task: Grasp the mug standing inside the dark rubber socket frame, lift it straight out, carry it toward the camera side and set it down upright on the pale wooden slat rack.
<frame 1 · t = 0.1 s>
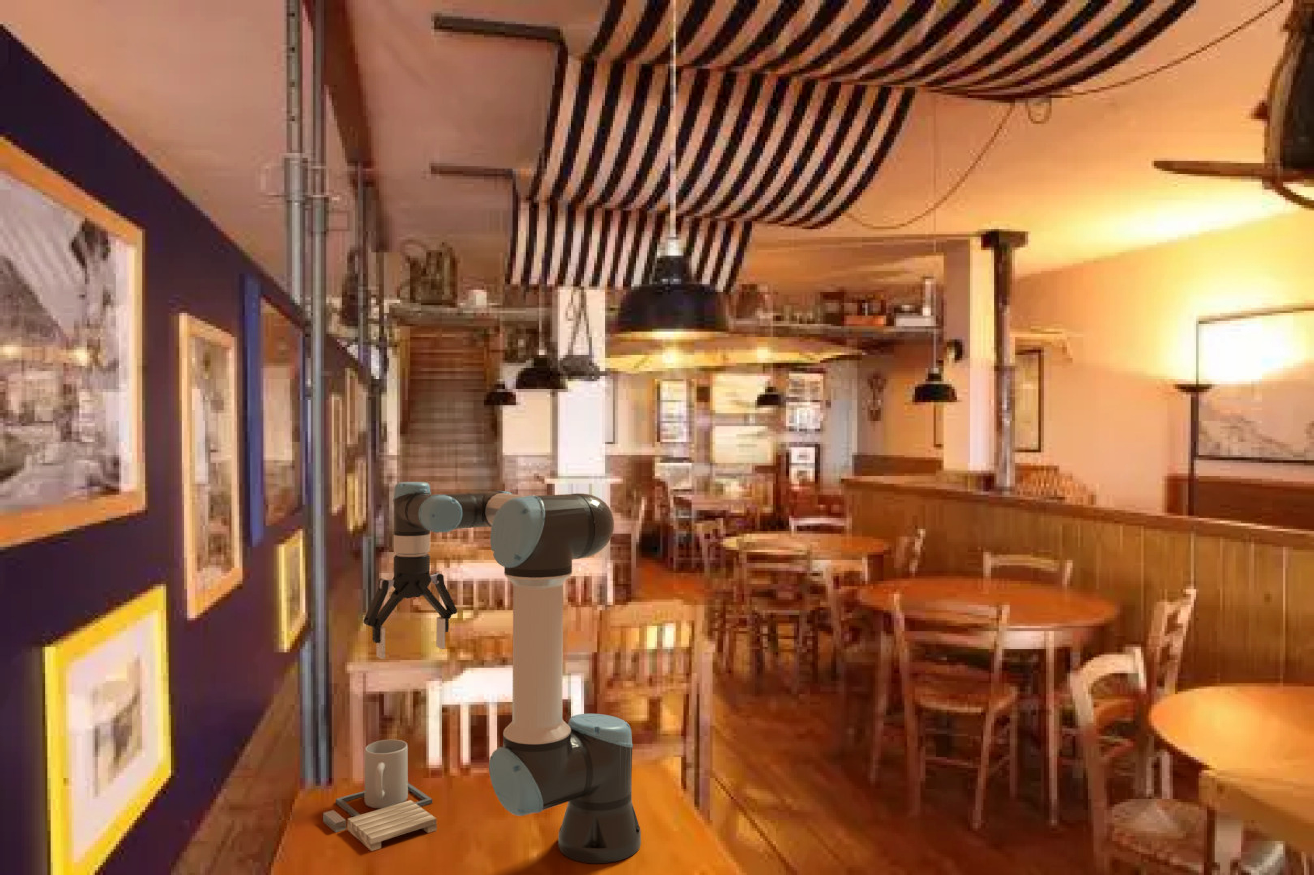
hand: (411, 652, 190), 28 cm above the table, fingers open, 13 cm apart
grey rectangular bar: (334, 826, 170), on the table
rack: (392, 830, 168), on the table
mug: (384, 804, 180), resting in socket frame
socket frame: (384, 802, 180), on the table
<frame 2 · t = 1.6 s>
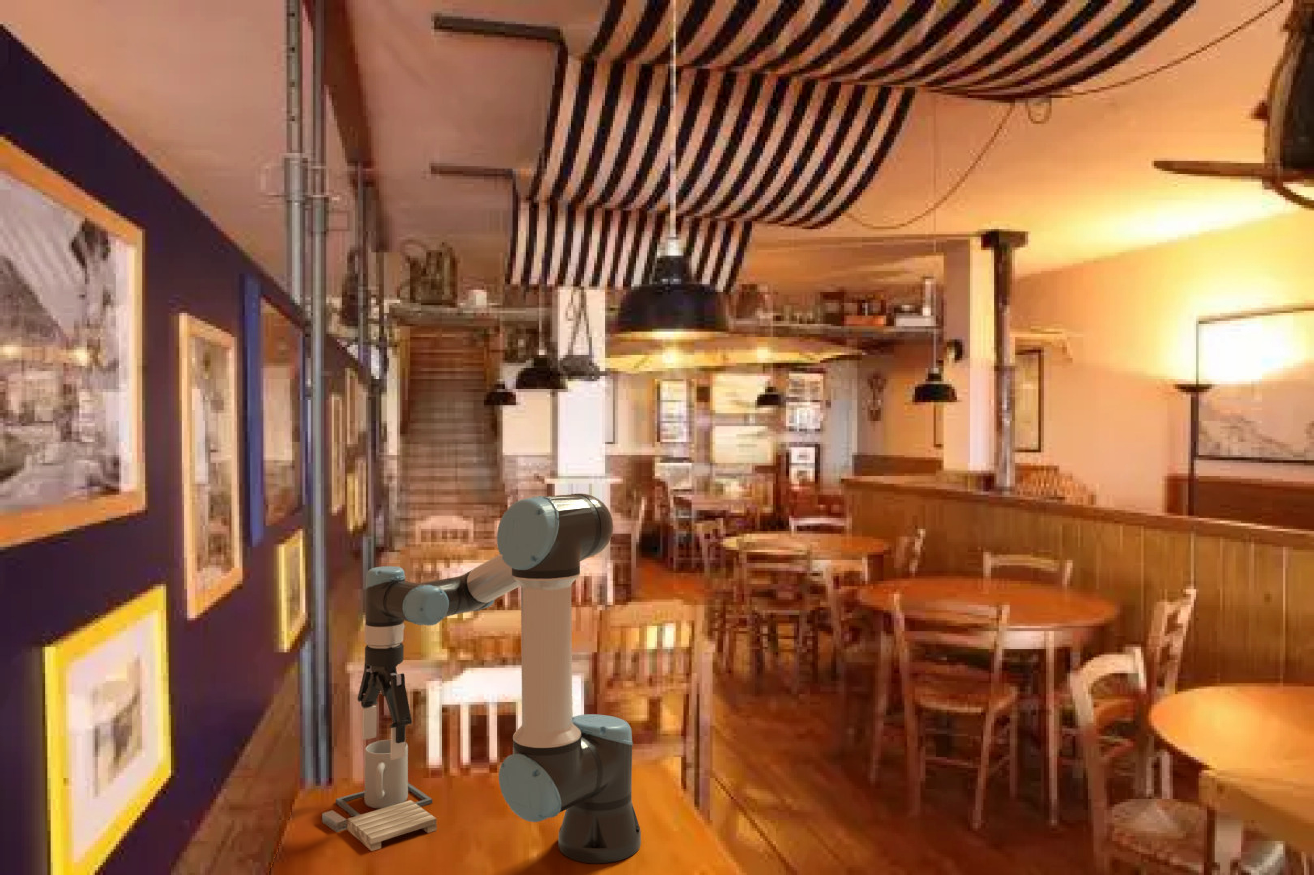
hand: (383, 747, 180), 11 cm above the table, fingers open, 13 cm apart
nothing on the table moved.
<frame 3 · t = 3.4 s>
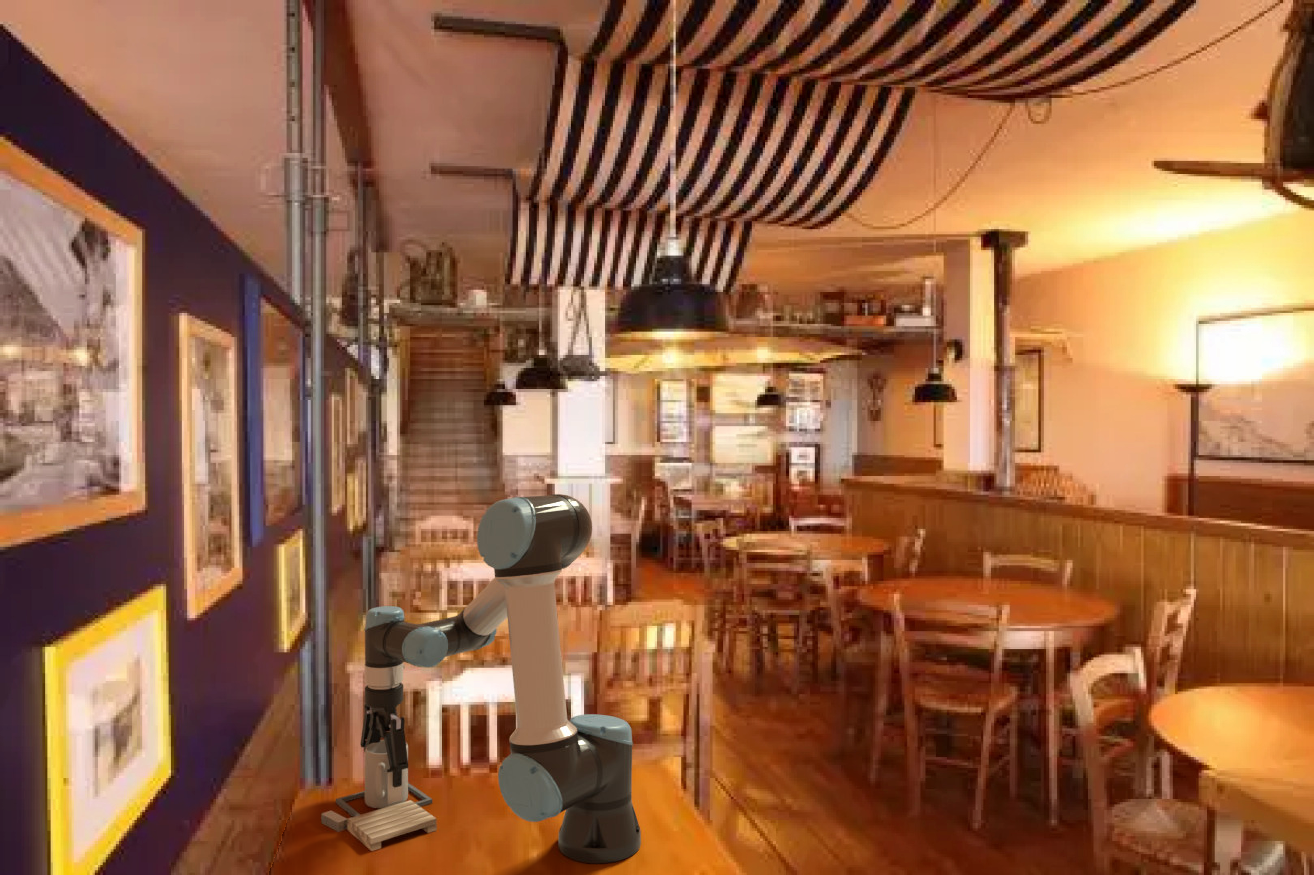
hand: (383, 792, 180), 2 cm above the table, fingers closed on mug, 10 cm apart
mug: (384, 804, 180), resting in socket frame, touching gripper
everything else where it was.
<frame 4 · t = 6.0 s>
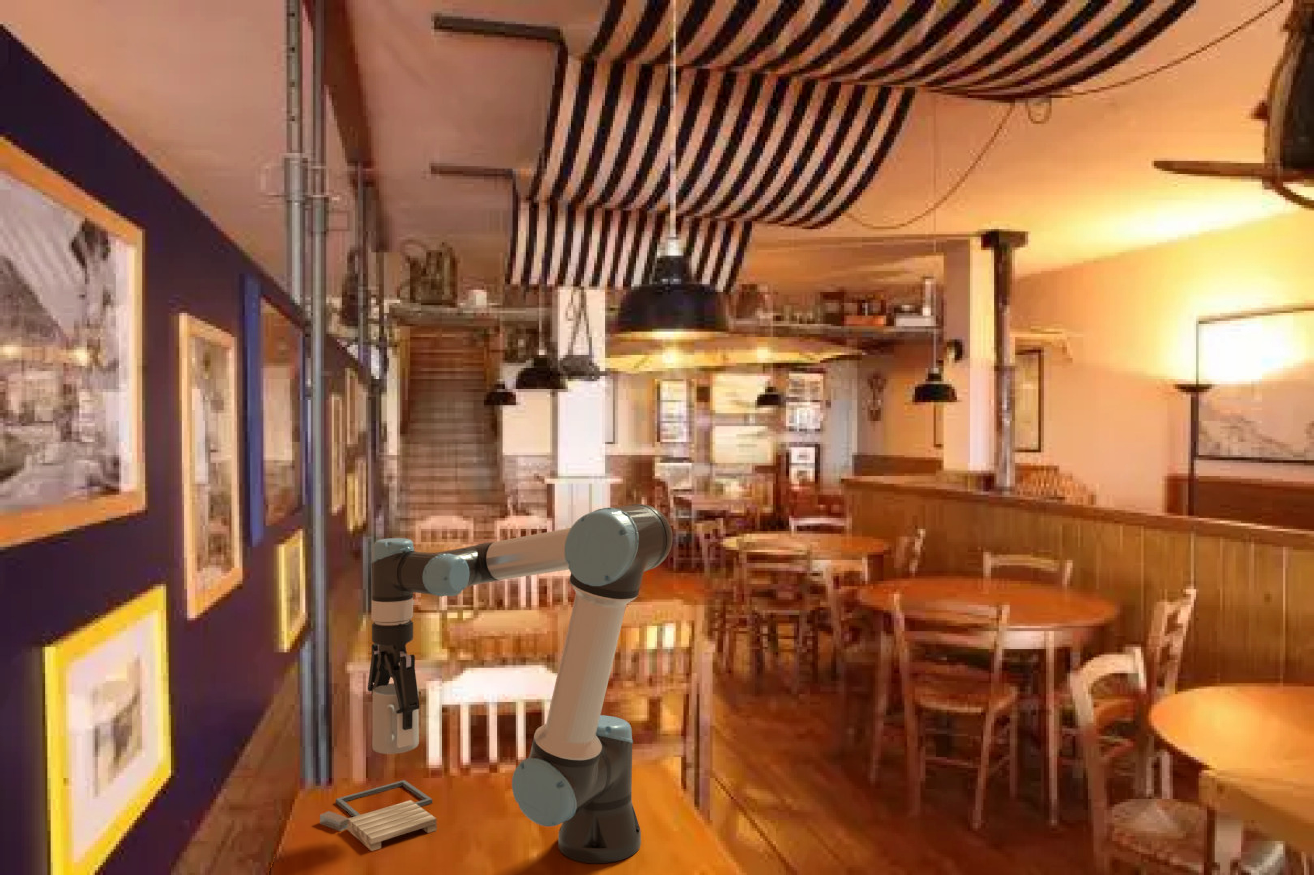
hand: (392, 738, 168), 17 cm above the table, fingers closed on mug, 10 cm apart
mug: (393, 750, 167), point 15 cm above the table, touching gripper
everything else where it was.
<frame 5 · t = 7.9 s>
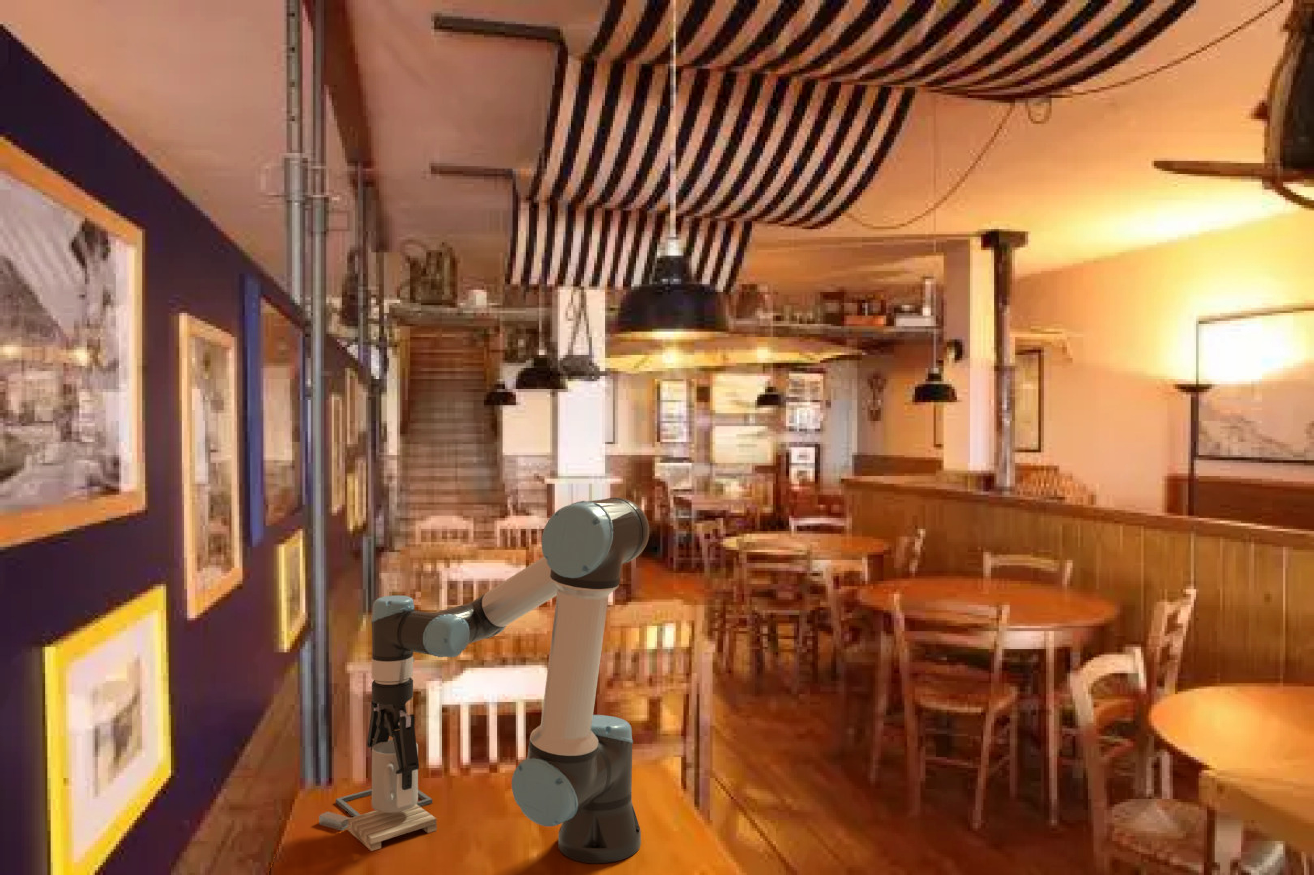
hand: (391, 795, 168), 6 cm above the table, fingers closed on mug, 10 cm apart
mug: (393, 808, 167), point 4 cm above the table, touching gripper
everything else where it was.
when the fingers open (5 cm above the table, at t = 9.1 s): mug drops 1 cm, resting on rack.
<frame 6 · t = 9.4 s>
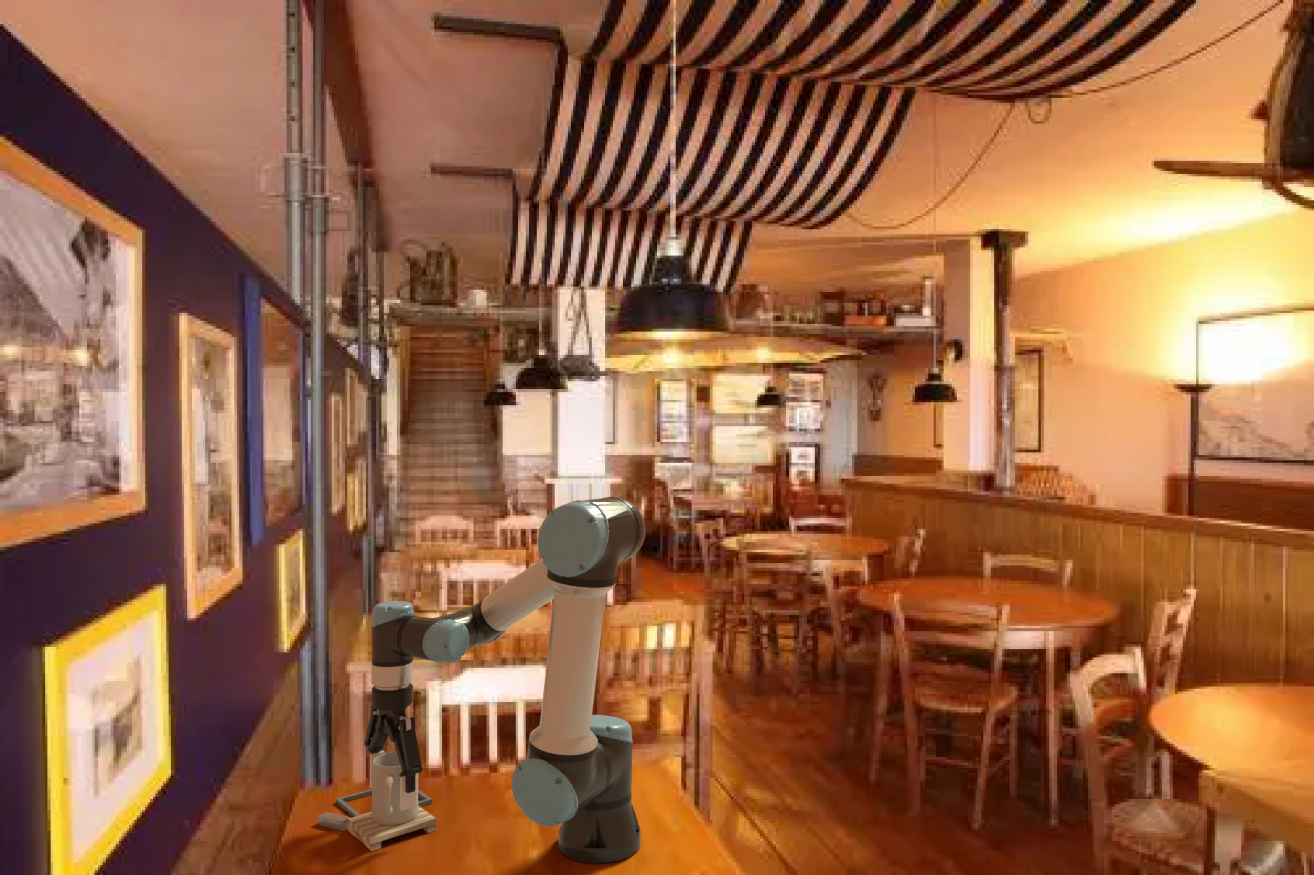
hand: (392, 797, 168), 6 cm above the table, fingers open, 13 cm apart
mug: (393, 821, 167), point 2 cm above the table, touching rack
everything else where it was.
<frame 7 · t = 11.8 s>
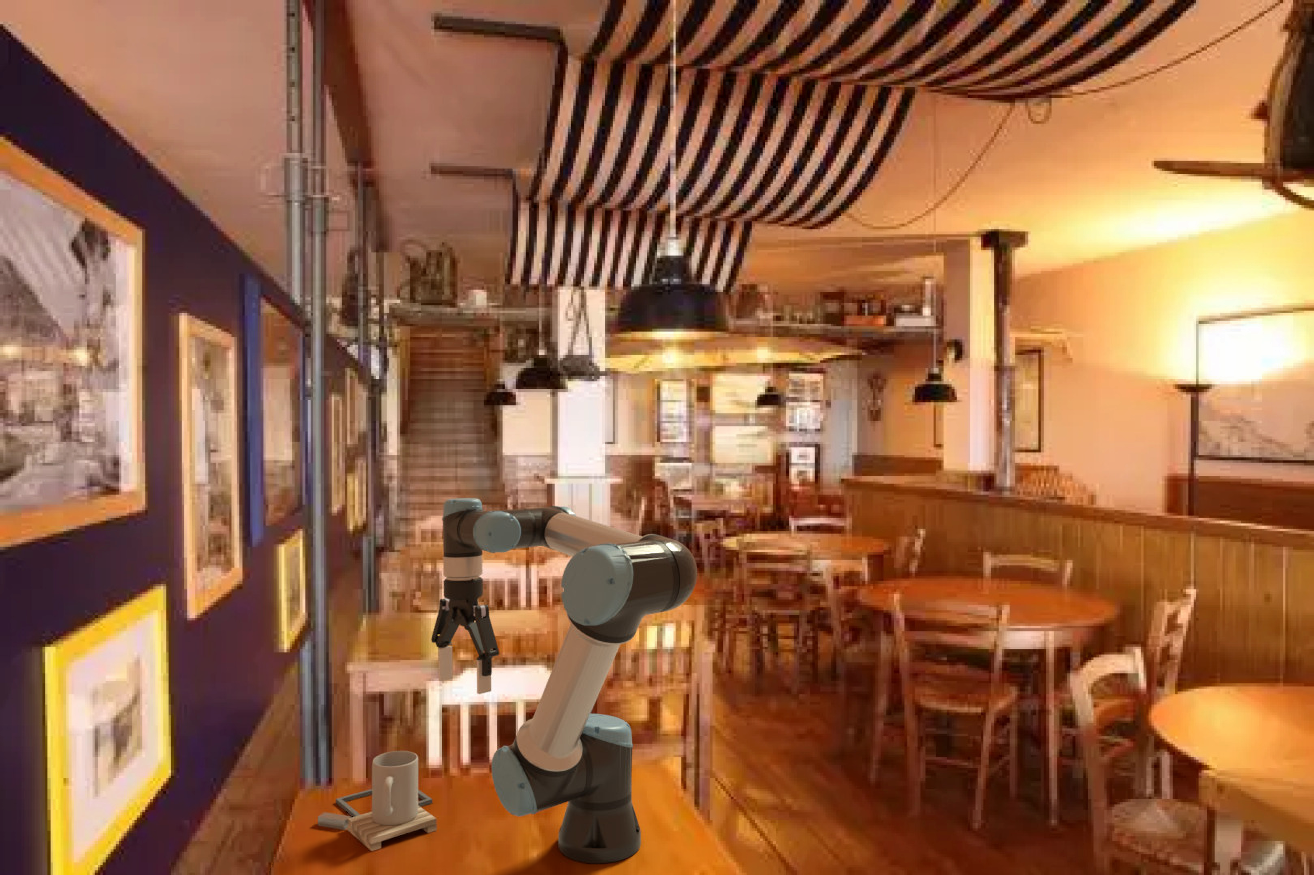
hand: (464, 686, 173), 26 cm above the table, fingers open, 13 cm apart
nothing on the table moved.
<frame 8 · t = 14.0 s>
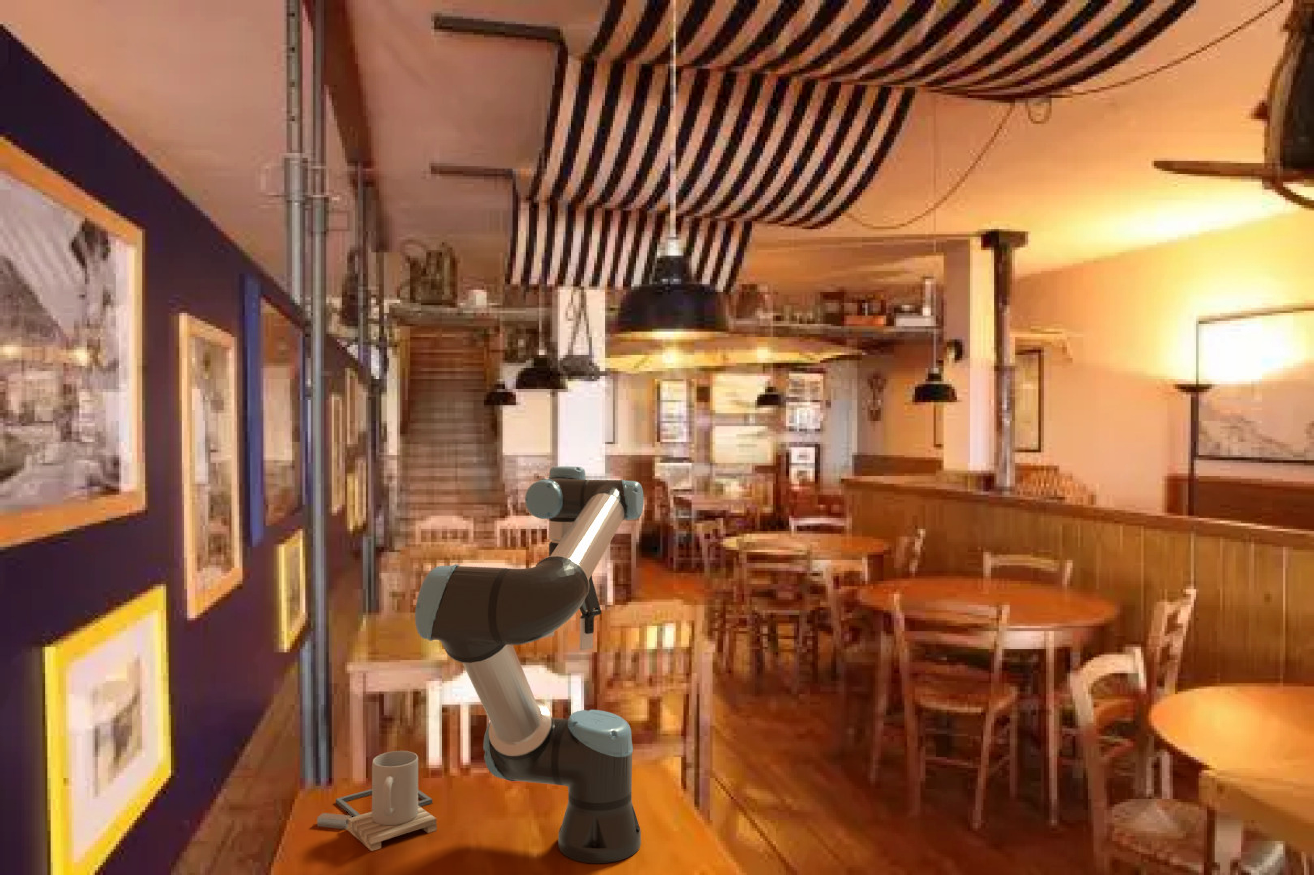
hand: (566, 642, 184), 32 cm above the table, fingers open, 13 cm apart
nothing on the table moved.
at the end: mug inside the target area on the rack (0.7 cm from its centre), point 2.0 cm above the rack's base; mug tilted 0°; the gripper is holding nothing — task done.
